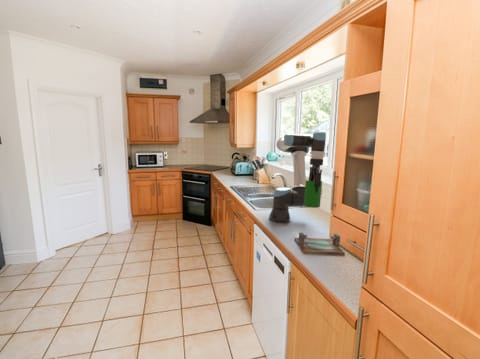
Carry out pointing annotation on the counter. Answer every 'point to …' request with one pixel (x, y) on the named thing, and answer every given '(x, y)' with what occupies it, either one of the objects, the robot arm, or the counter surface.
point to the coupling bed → (319, 245)
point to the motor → (312, 195)
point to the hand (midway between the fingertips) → (312, 196)
